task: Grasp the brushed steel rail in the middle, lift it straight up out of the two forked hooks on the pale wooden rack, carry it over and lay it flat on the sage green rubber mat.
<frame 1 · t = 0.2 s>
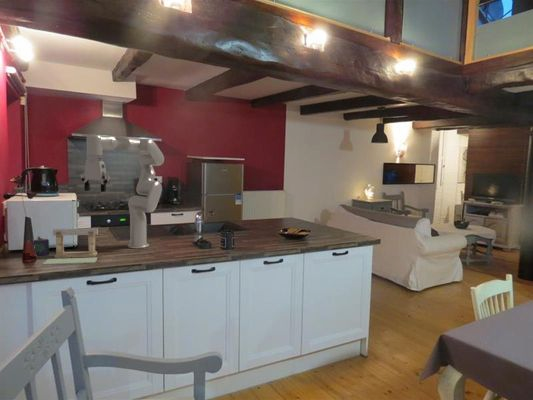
hand: (95, 191, 195), 37 cm above the countertop, tool pointing down, fingers open, 9 cm apart
rack: (76, 255, 203), on the countertop
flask: (39, 256, 201), on the countertop
rail: (75, 234, 202), point 12 cm above the countertop, touching rack
mat: (71, 261, 192), on the countertop
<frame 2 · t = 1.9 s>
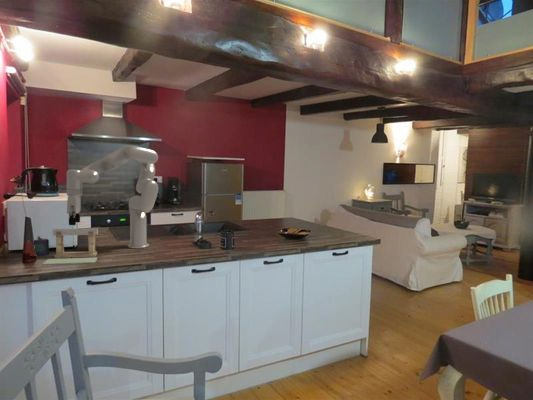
hand: (74, 223, 201), 18 cm above the countertop, tool pointing down, fingers open, 9 cm apart
nothing on the countertop moved.
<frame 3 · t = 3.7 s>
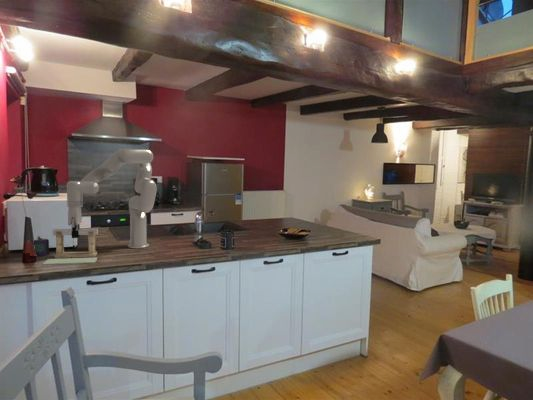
hand: (75, 236, 202), 11 cm above the countertop, tool pointing down, fingers closed on rail, 3 cm apart
rail: (75, 234, 202), point 12 cm above the countertop, touching gripper, rack
everything else where it was.
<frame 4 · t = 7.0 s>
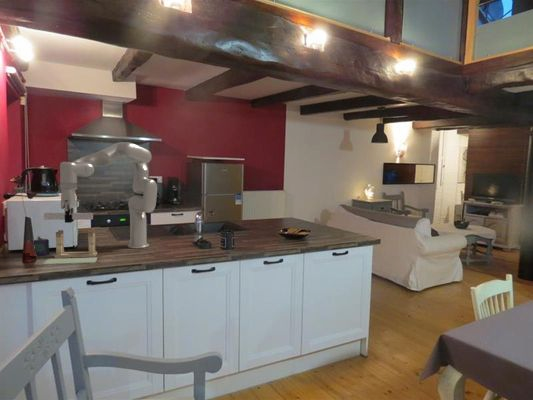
hand: (69, 221, 190), 21 cm above the countertop, tool pointing down, fingers closed on rail, 3 cm apart
rail: (69, 219, 190), point 23 cm above the countertop, touching gripper
everything else where it was.
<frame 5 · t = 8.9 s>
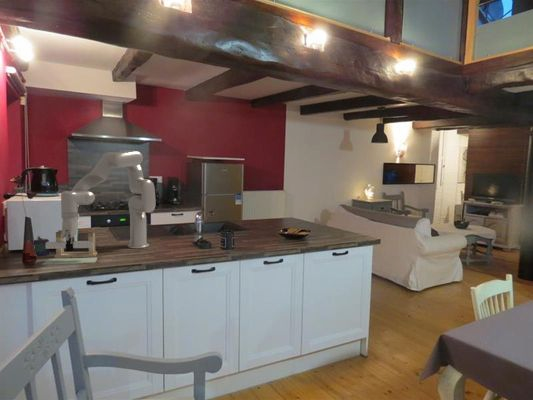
hand: (70, 249, 192), 6 cm above the countertop, tool pointing down, fingers closed on rail, 3 cm apart
rail: (70, 247, 191), point 8 cm above the countertop, touching gripper
everything else where it was.
when the fingers open (1 cm above the countertop, at t = 10.5 s): rail drops 2 cm, resting on mat.
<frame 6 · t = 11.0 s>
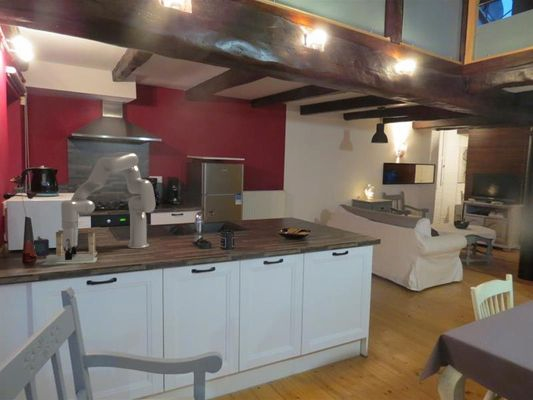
hand: (70, 257, 192), 2 cm above the countertop, tool pointing down, fingers open, 8 cm apart
rail: (70, 260, 192), point 1 cm above the countertop, touching mat
everything else where it was.
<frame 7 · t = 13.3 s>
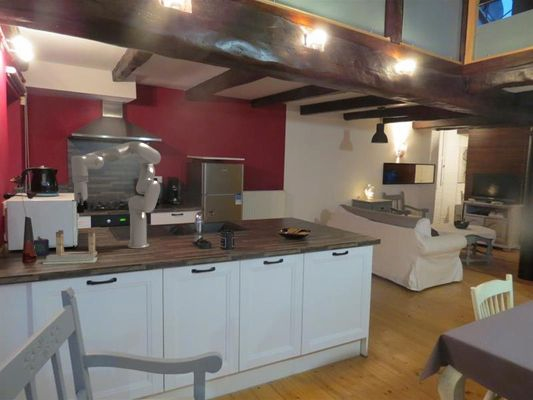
hand: (82, 211, 197), 26 cm above the countertop, tool pointing down, fingers open, 9 cm apart
nothing on the countertop moved.
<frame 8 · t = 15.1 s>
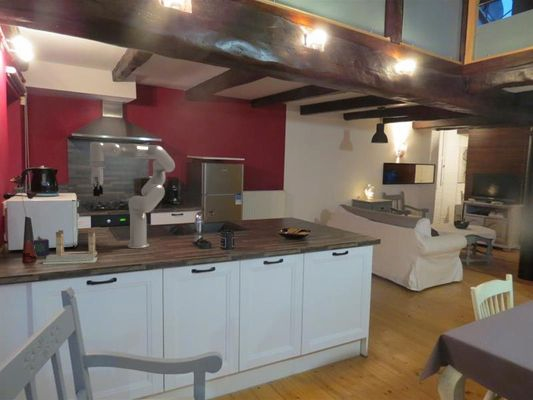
hand: (98, 195, 206), 33 cm above the countertop, tool pointing down, fingers open, 9 cm apart
nothing on the countertop moved.
at the end: rail inside the target area (0.0 cm from its centre), point 0.6 cm above the countertop; rail touching mat; the gripper is holding nothing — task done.
